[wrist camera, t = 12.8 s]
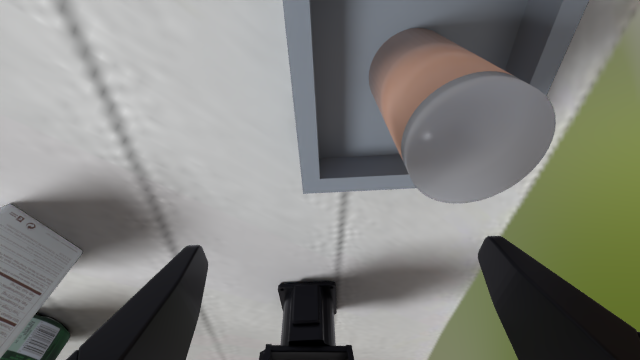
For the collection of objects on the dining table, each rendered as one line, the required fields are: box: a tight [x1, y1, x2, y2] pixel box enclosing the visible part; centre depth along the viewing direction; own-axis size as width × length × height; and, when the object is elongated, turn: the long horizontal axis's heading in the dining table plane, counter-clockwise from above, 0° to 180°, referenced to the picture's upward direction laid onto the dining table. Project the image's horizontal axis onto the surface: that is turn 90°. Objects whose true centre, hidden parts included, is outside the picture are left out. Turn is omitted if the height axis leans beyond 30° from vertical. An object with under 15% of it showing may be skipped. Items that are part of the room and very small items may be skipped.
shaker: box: [369, 28, 556, 203], centre depth 14 cm, size 5×5×9 cm
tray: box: [283, 0, 589, 194], centre depth 17 cm, size 14×14×4 cm
